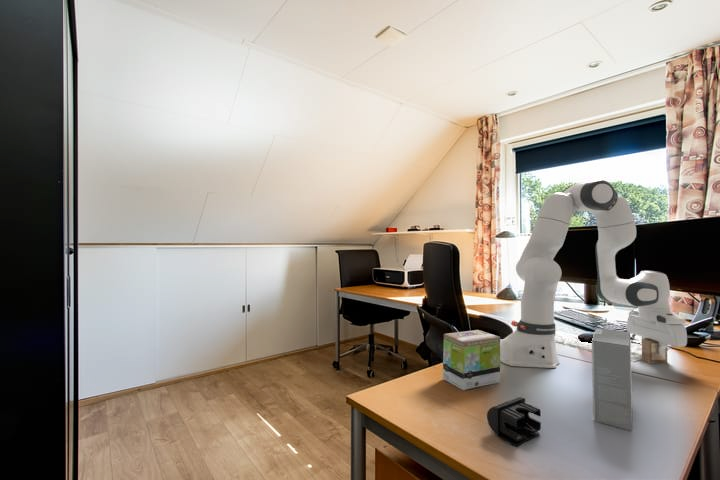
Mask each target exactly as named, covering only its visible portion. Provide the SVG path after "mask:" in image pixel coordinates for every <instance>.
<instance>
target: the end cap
mask: <svg viewBox="0 0 720 480" xmlns="http://www.w3.org/2000/svg"><path fill="white" fill-rule="evenodd" d="M541 412H542V411H541V408H538V407H536V406H534V405H531V404H529V403H527V402H526V398H525V397H522V396H521V397H520V396H519V397H516V398H513V399H510V400H508V401H505V402H502V403H500V404H497V405H494V406H492V407H490V408H489V409H488V410H487V413H486V420H487V424H488V425H489V428H490V429H491V431H492V432H493V433H494V434H495V435H496V437H498V439H500V440H502V441H503V442H505V443H506V444H508V445H511V446H512V447H514V448H518V447H520V446H522V445H524V444H526V443H528V442H531V441H532V440H534V439H536V438H539V437H541V435H540V434H541V432H540V430H541V427H542V426H541V425H542V424H541V423H542V422H541V421H539V420H538V419H535V418H533V417H531V416H530V414H531V415H535V416H536V417H539V418H540V417H541V415H542V414H541ZM529 413H530V414H529Z"/></svg>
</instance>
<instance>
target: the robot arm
mask: <svg viewBox="0 0 720 480" xmlns="http://www.w3.org/2000/svg"><path fill="white" fill-rule="evenodd" d="M578 212H586V213H587V212H591V213H592V215H593V216H594V218H595V221H596V225H597V226H596V227H597V231H598V232H597V233H598V234H597V235H598V240H597V242H596V243H595V259H596V260H595V261H596V272H597V280H596V289H595V290H596V293H597V296H598V297H599V298H600V299H601V300H602V301H604V303H609V304H610V303H611V304H619V305H622V306H623V305H624V306H631V307H635V308H636V307H637V308H638V310H636V309H632V310H631V311H629V312H628V317H627V323H626V332H629V333H630V335H631V334H632V335H634V336H635V335H636V336H639V337H641V340H642V339H652V340H655V341H658V342H659V345H660V347H659V348H656V350H657V351H656V352H657V353H658V354H665V349H666V348H667V347H668V346H672V347H675V348H676V347H678V348H684V347H686V346H687V344H688V333H687V328H686V326H684V325H685V324H686V323H687V322H686V321H687V320H686V318H685V317H683V316H681V315H679V314H676V313H675V312H674V311H672V310H671V306H670V304H669V299H670V297H671V293H670V292H671V289H670V282H669V279H668V276H667V274H665V273H664V272H661V271H654V270H646V269H645V270H641V271H640V272H639V273H638V274H637V275H635V276H634V277H631V278H629V279H627V278H625V279H624V278H620V277H619V276H618V275H617V269H616V268H617V267H616V255H617V254H618V252H619V251H620V250H622V249H625V248H626V247H628V246H630V245H631V244H632V243H633V242H634V241H635V239H636V238H637V226H636V223H635V218H634V215H633V212H632V209H631V207H630V204H629V203H628V201H627V199H626V198H625V197H624V196H623V195H619V194H618V193H617V192H616V190H615V188H614V186H613V185H612V184H611V183H610V181H609V182H608V181H606V180H604V179H591V180H588V181H582V182H577V183H575V184H572V185H570V186H567V187H566V188H565V189H563V190H562V191H561V192H553V193H550V194H549V195H547V196H546V198H545V199H544V200H543V202H542V205H541V207H540V209H539V211H538V214H537V216H536V217H537V218H536V220H535V222H534V223H535V224H534V225H533V229H532V232H531V234H530V237H529V240H528V242H527V243H526V246H525V248H524V249H523V252H522V254H521V256H520V258H519V260H518V261H517V262H516V264H515V270H516V273H517V276H518V277H519V278H520V280H522V281H523V282H524V286H523V291H522V296H521V298H520V319H519V321H516V320H511V322H510V325H512V326H513V327H515V328H516V330H514V331H513V332H511V333H510V334H509V335H507V336H506V337H504V338H503V339H502V340H501V341H500V363H503V364H505V365H507V366H511V367H526V368H541V369H542V368H546V369H547V368H548V369H549V368H550V369H556V367H557V366H558V365H559V364H560V359H559V356H558V351H557V345H556V342H555V333H556V331H557V329H556V323H555V298H556V292H557V290H558V289H557V288H558V285H559V282H560V280H561V278H562V274H563V273H562V272H563V271H562V269H561V266H560V265H559V264H558V263H557V262H556V261H555V260H554V258H555V257H556V255H557V253H558V252H559V250H560V249H561V248H562V247H563V245H564V242H565V240H566V236H567V233H568V231H569V227H570V224H571V221H572V218H573V216H574V215H575V213H578Z"/></svg>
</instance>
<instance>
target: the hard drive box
mask: <svg viewBox="0 0 720 480" xmlns="http://www.w3.org/2000/svg"><path fill="white" fill-rule="evenodd" d="M593 332H594V335H593V338H592V341H591V342H592V351H591V372H592V373H591V375H592V377H591V379H592V420H593V421H594V422H597V423H600V424H605V425H608V426H612V427H616V428H620V429H623V430H627V431H630V432H631V431H632V429H633V427H632V426H633V424H632V423H633V422H632V421H633V381H632V375H633V374H632V362H631V333H629V332H628V331H627V330H626V331H625V330H615V329H609V328H601V327H596V328H595V330H594V331H593Z"/></svg>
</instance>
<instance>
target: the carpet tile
mask: <svg viewBox="0 0 720 480" xmlns="http://www.w3.org/2000/svg"><path fill="white" fill-rule="evenodd" d="M568 328H572V329H577V330H579V328H575V327H568ZM563 329H565V328H560V329H559V330H563ZM559 330H556V333H555V344H556V343H557V344H561V345H564V346H569V347H572V348H577V349H581V350H584V351H588V352H592V343H588V342H581V341H579V340H578V335H574V334H570V333H565V332H561V331H559ZM573 331H576V330H573ZM584 331H585V330H583V332H584ZM580 332H581V331H580ZM588 332H590V331H588ZM581 333H582V332H581ZM565 338H566V339H565ZM568 339H569V340H568ZM632 341H633V342H636V343H640V344H642V341H639V340H636V339H634V340H632ZM633 344H635V343H633ZM634 346H635V347H634ZM634 346H632V345H631V363H636V362H637V361H642V348H639V346H641V345H638V346H636V345H634ZM667 351H669V348H668V346H667Z"/></svg>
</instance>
